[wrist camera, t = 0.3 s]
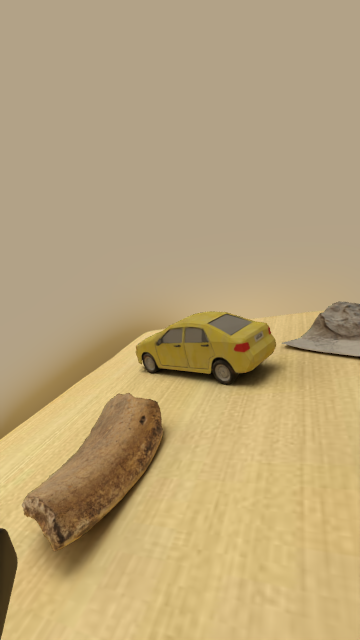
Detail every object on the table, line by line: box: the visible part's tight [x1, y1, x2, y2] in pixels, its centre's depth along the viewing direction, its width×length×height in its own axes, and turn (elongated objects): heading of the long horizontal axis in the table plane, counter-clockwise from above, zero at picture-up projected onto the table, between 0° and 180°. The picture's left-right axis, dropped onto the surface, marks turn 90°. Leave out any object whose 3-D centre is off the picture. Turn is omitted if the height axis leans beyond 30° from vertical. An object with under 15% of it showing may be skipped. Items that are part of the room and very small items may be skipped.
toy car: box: [136, 312, 276, 385], centre depth 59 cm, size 12×28×10 cm, turn 48°
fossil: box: [22, 393, 163, 551], centre depth 36 cm, size 22×6×10 cm
